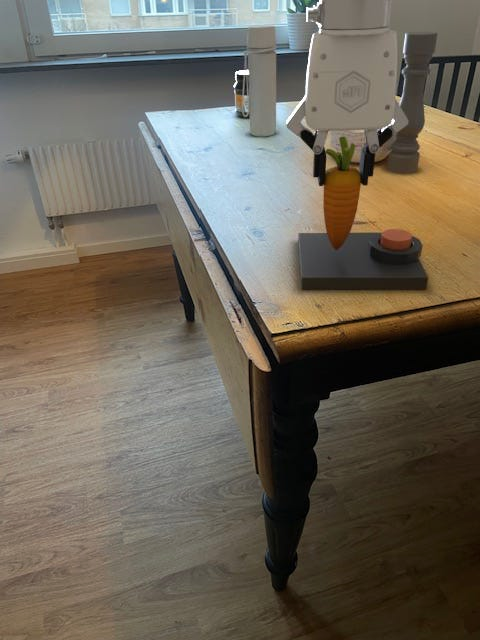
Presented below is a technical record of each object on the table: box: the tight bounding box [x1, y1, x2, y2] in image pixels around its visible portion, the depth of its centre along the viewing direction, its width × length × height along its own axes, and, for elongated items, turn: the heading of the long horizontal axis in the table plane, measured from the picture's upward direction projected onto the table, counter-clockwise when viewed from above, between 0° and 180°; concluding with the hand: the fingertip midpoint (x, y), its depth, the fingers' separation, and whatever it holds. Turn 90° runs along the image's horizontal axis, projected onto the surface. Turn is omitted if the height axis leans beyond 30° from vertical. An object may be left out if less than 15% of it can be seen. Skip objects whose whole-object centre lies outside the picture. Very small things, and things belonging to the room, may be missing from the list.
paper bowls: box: [328, 129, 397, 164], centre depth 111 cm, size 15×15×8 cm
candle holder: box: [386, 31, 439, 175], centre depth 98 cm, size 6×6×25 cm
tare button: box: [380, 228, 413, 250], centre depth 68 cm, size 4×4×2 cm
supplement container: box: [233, 69, 250, 119], centre depth 151 cm, size 10×10×12 cm
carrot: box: [322, 136, 362, 250], centre depth 66 cm, size 5×5×15 cm
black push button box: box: [297, 231, 429, 291], centre depth 70 cm, size 16×14×4 cm
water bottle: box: [242, 24, 278, 138], centre depth 127 cm, size 9×8×25 cm
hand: (342, 180), depth 64 cm, fingers closed on carrot, 4 cm apart
